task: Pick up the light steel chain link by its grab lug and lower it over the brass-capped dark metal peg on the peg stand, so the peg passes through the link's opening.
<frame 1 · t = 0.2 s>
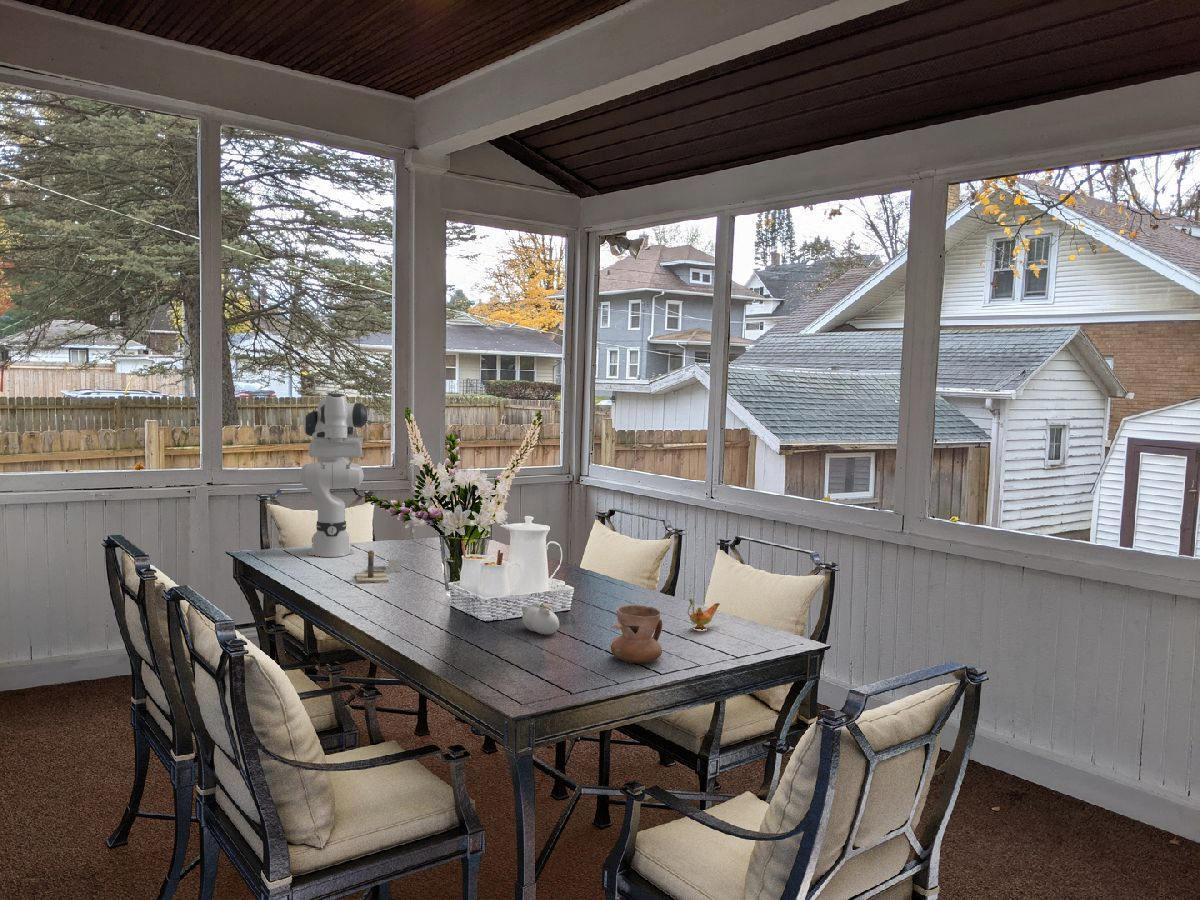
hand: (335, 469, 352), 39 cm above the table, tool pointing down, fingers open, 8 cm apart
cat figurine: (539, 632, 276), on the table
ceramic jug: (637, 659, 253), on the table
link: (378, 571, 348), on the table
peg stand: (371, 578, 336), on the table
magic lamp: (703, 629, 286), on the table
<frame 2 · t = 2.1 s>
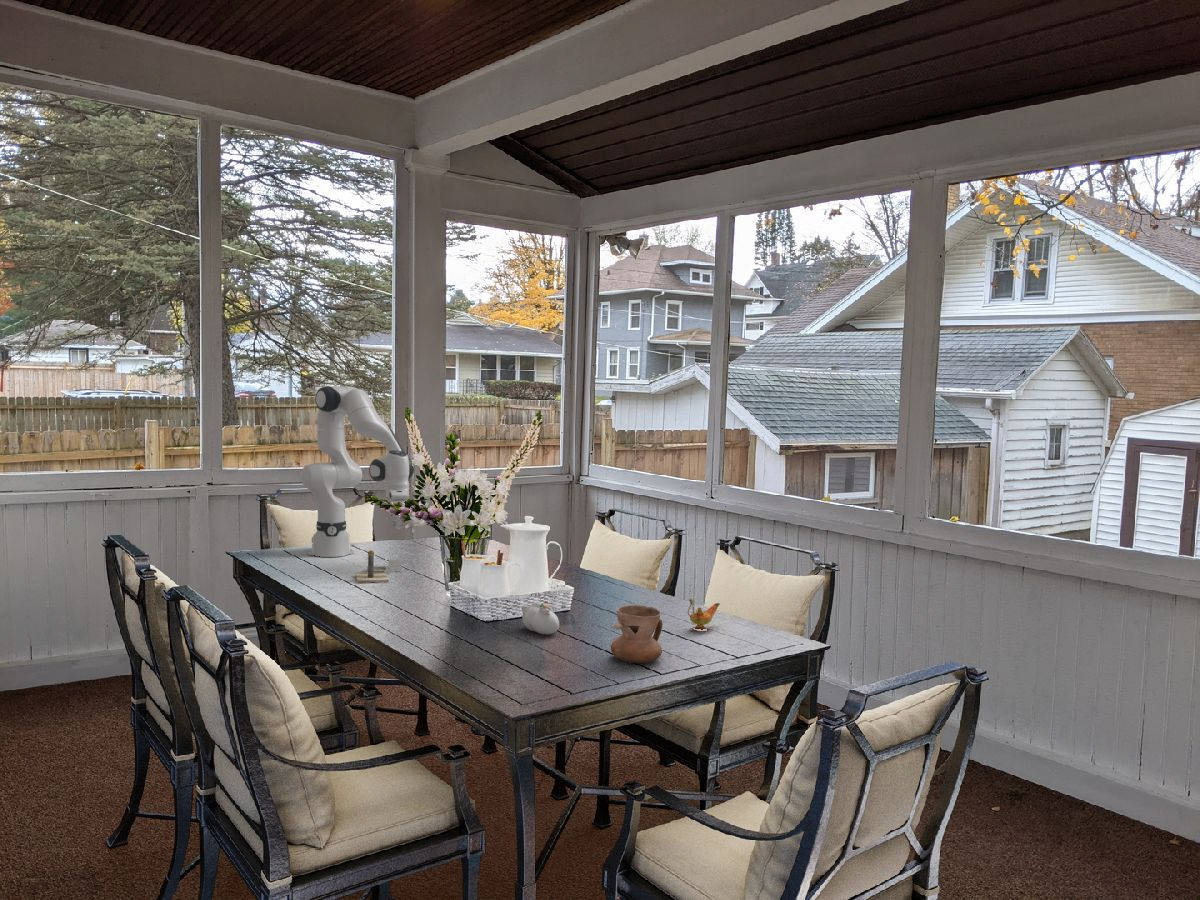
hand: (397, 527, 349), 17 cm above the table, tool pointing down, fingers open, 8 cm apart
nothing on the table moved.
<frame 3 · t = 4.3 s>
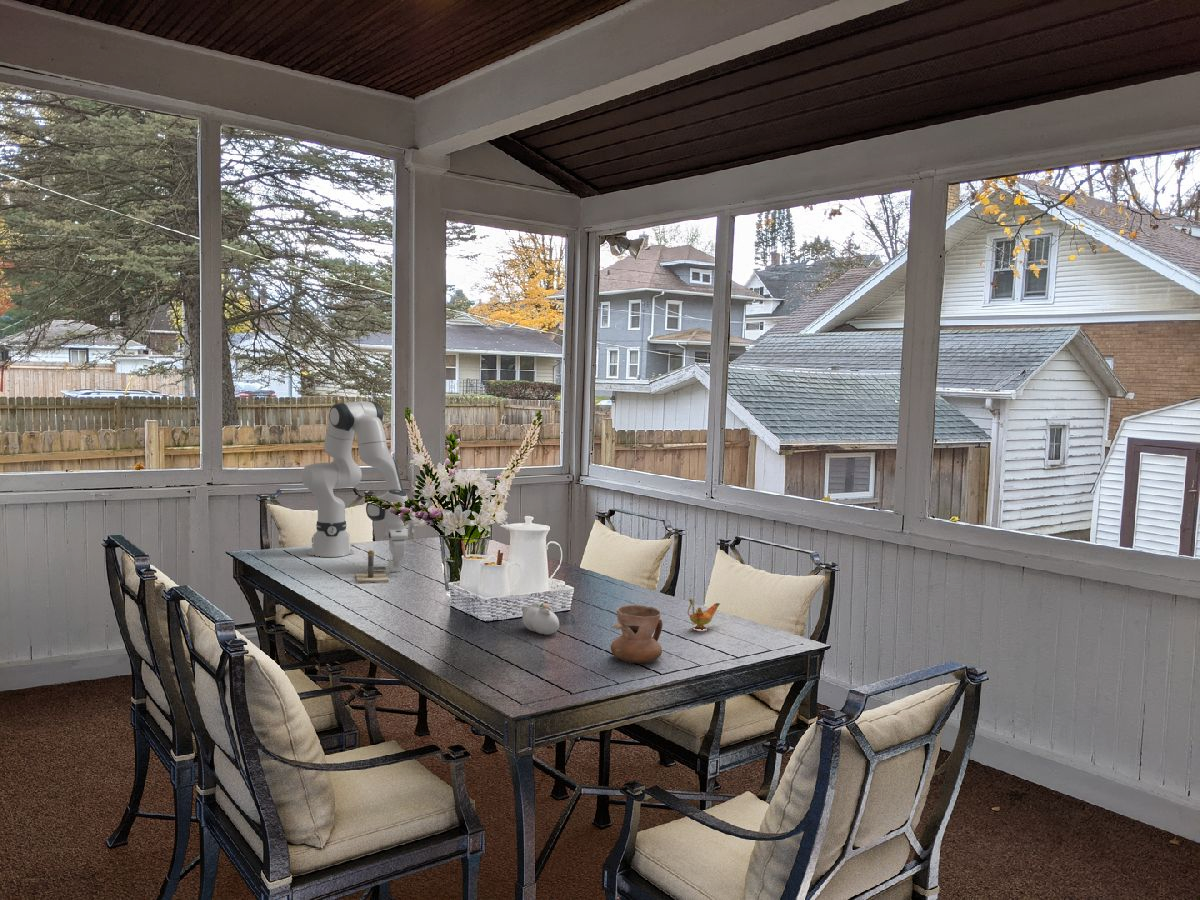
hand: (396, 566, 350), 2 cm above the table, tool pointing down, fingers closed on link, 2 cm apart
link: (378, 571, 348), on the table, touching gripper
everything else where it was.
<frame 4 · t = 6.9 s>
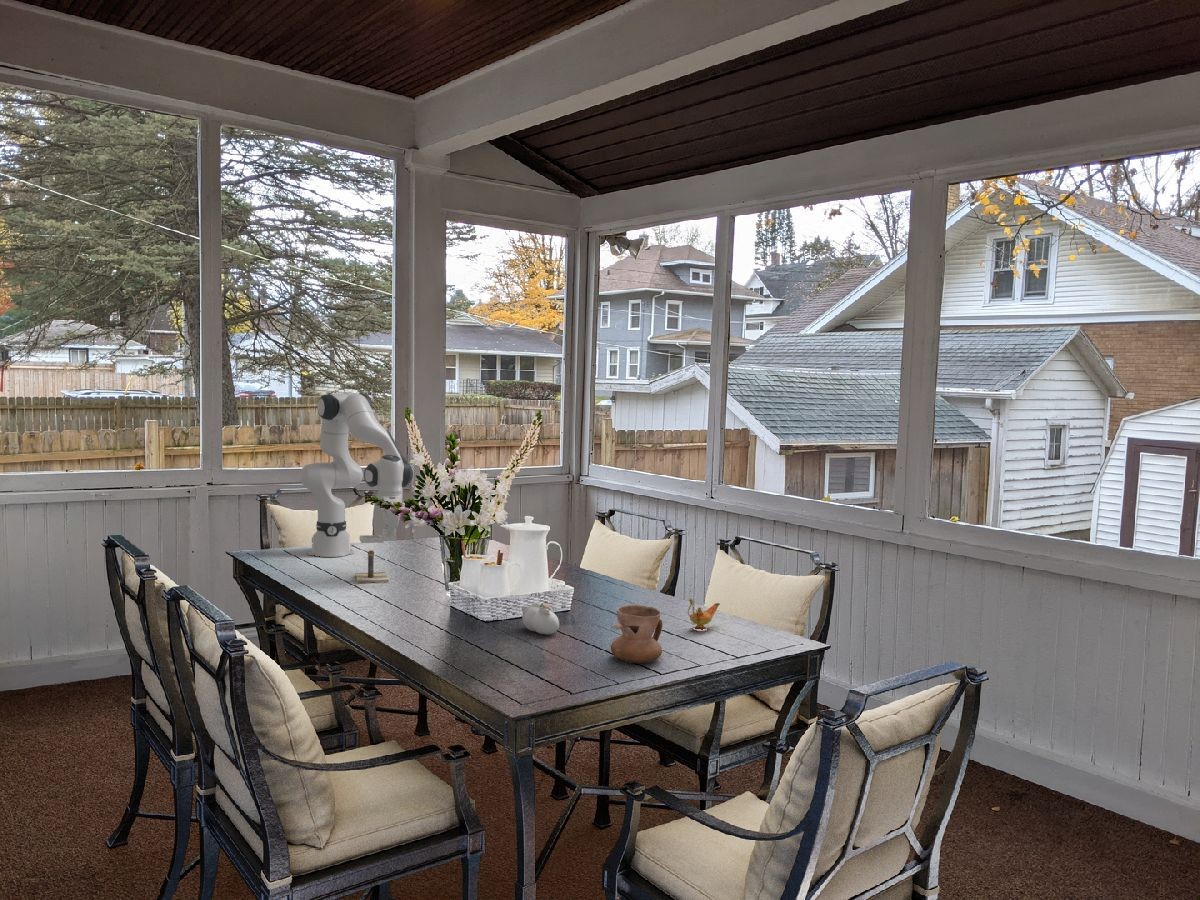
hand: (389, 535, 336), 17 cm above the table, tool pointing down, fingers closed on link, 2 cm apart
link: (371, 540, 334), point 15 cm above the table, touching gripper
everything else where it was.
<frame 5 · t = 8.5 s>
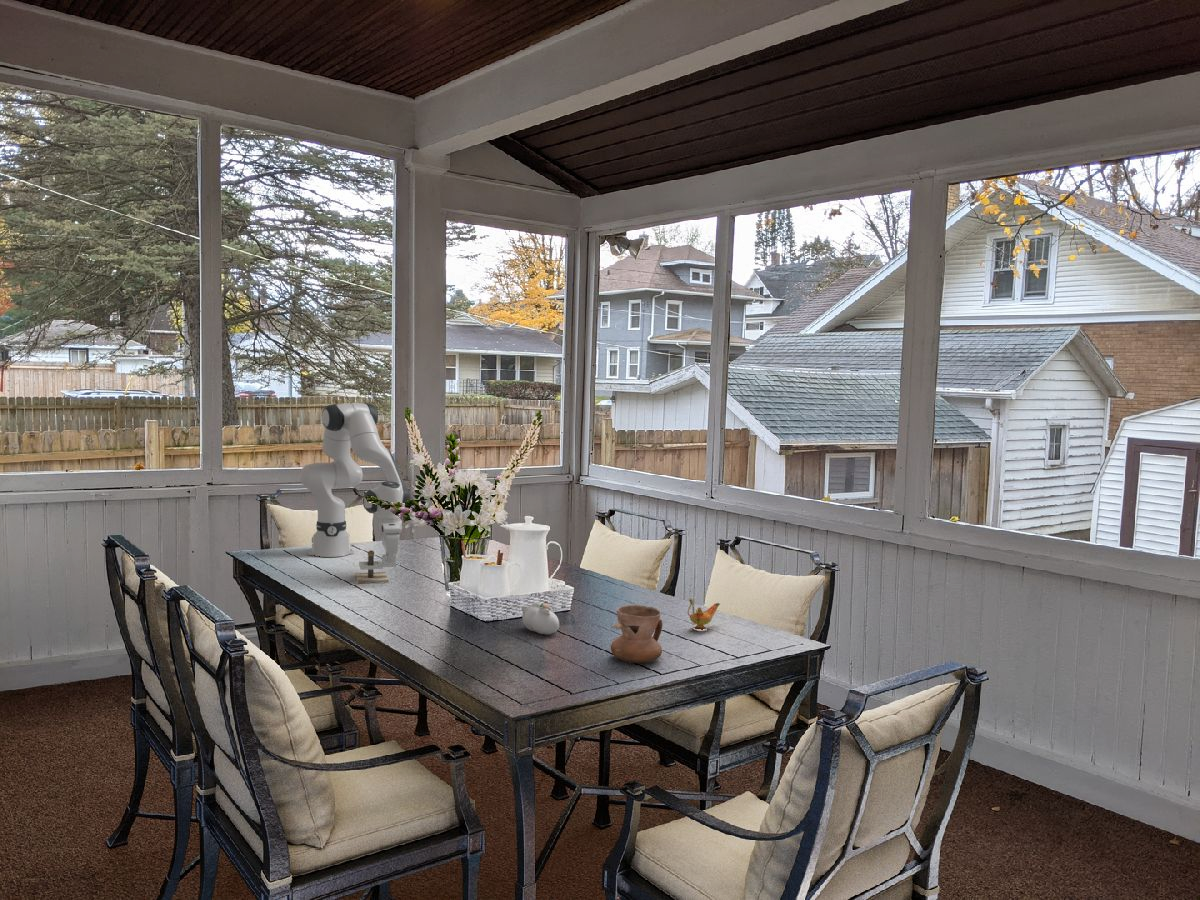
hand: (389, 561, 336), 7 cm above the table, tool pointing down, fingers closed on link, 2 cm apart
link: (371, 567, 334), point 5 cm above the table, touching gripper
everything else where it was.
when the fingers open (4 cm above the table, at t = 9.7 s): link stays where it is, resting on peg stand.
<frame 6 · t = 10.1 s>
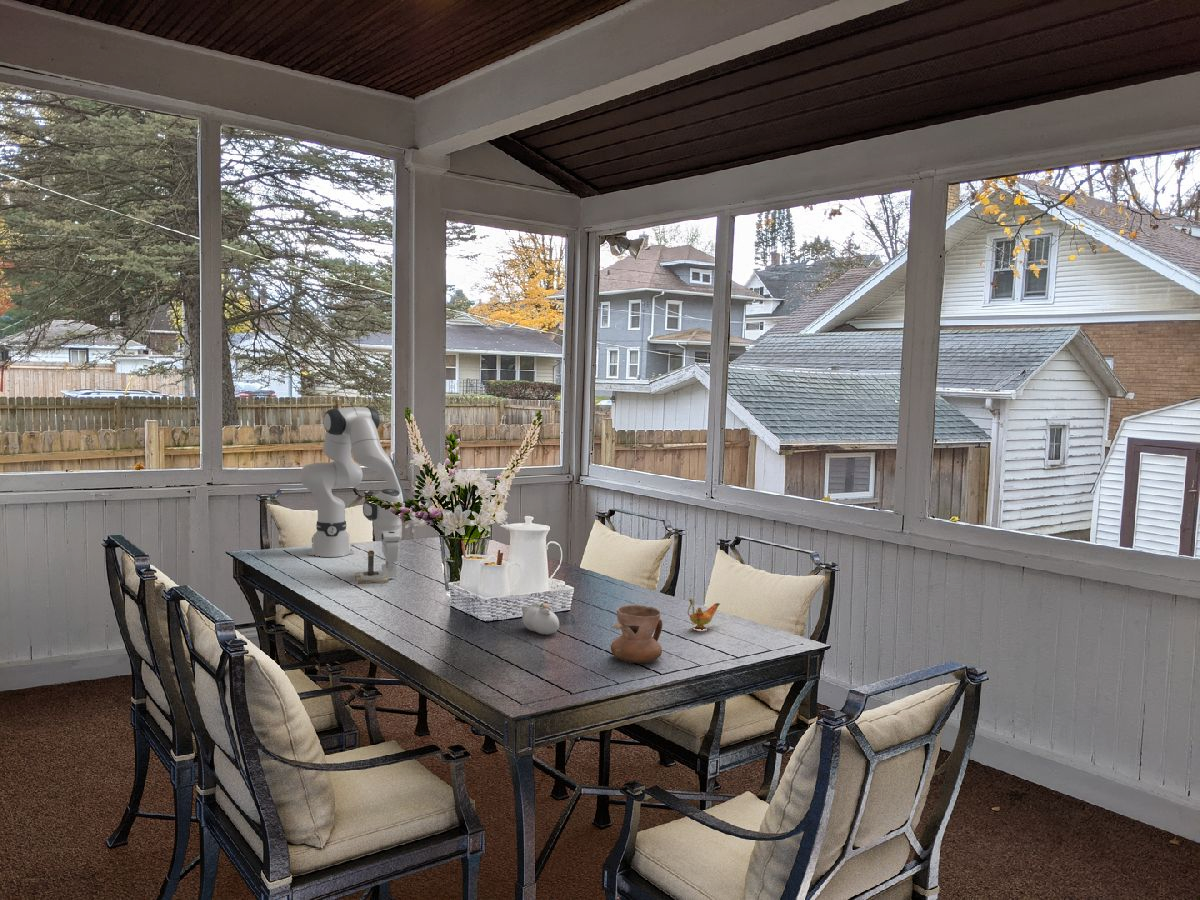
hand: (389, 569, 337), 4 cm above the table, tool pointing down, fingers open, 6 cm apart
link: (370, 577, 335), point 1 cm above the table, touching peg stand
everything else where it was.
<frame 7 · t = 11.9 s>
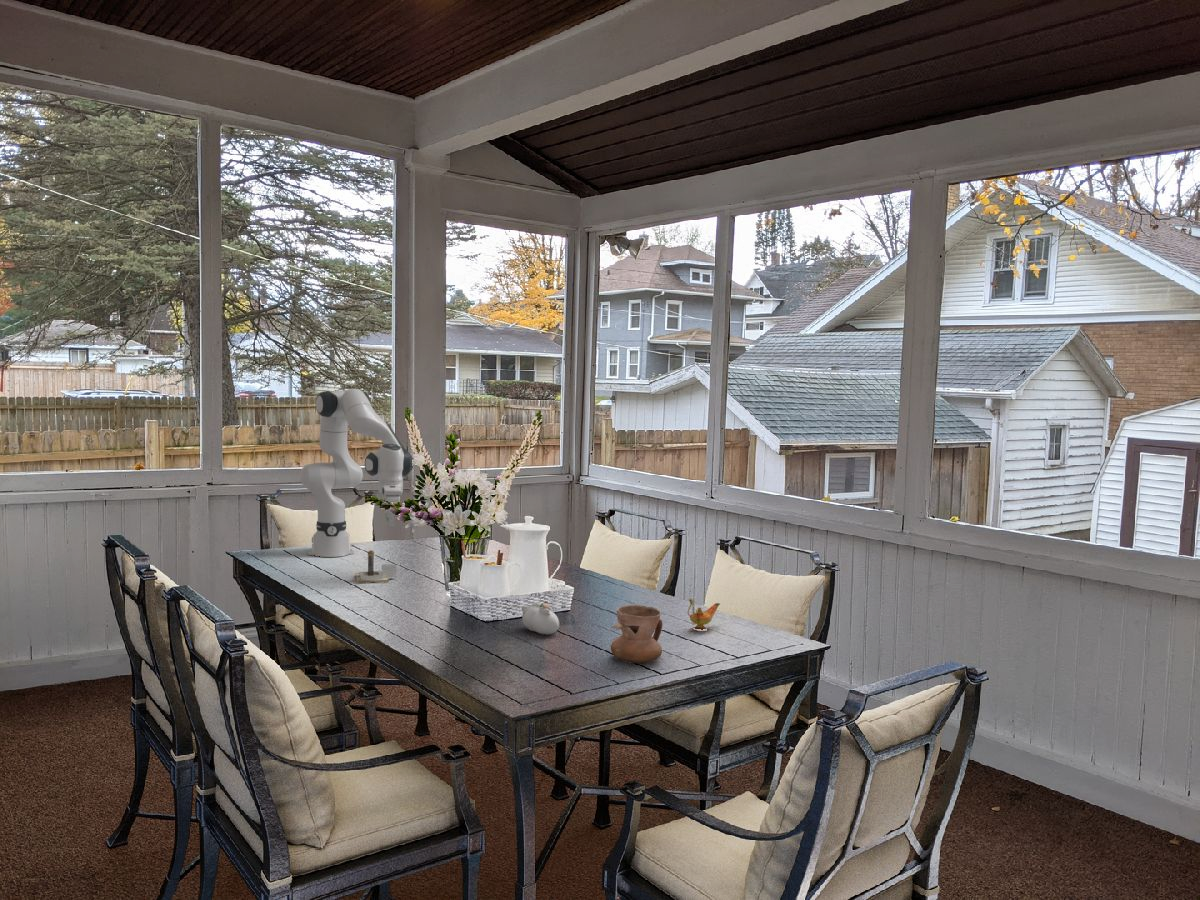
hand: (390, 524, 335), 21 cm above the table, tool pointing down, fingers open, 8 cm apart
nothing on the table moved.
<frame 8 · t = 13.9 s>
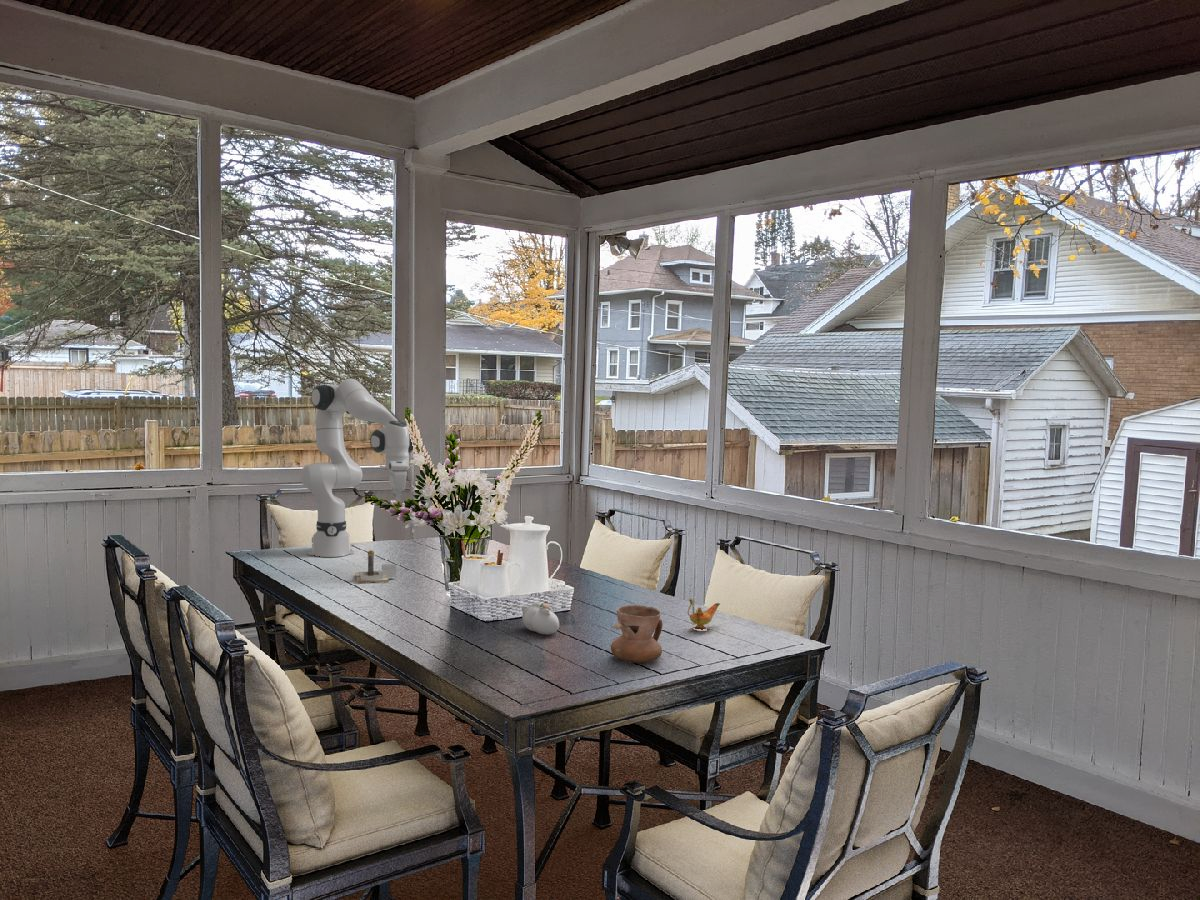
hand: (396, 499, 343), 29 cm above the table, tool pointing down, fingers open, 8 cm apart
nothing on the table moved.
at the end: link 1.4 cm off-centre on the peg stand, point 1.0 cm above the peg stand's base; the gripper is holding nothing; link tilted 0° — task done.
